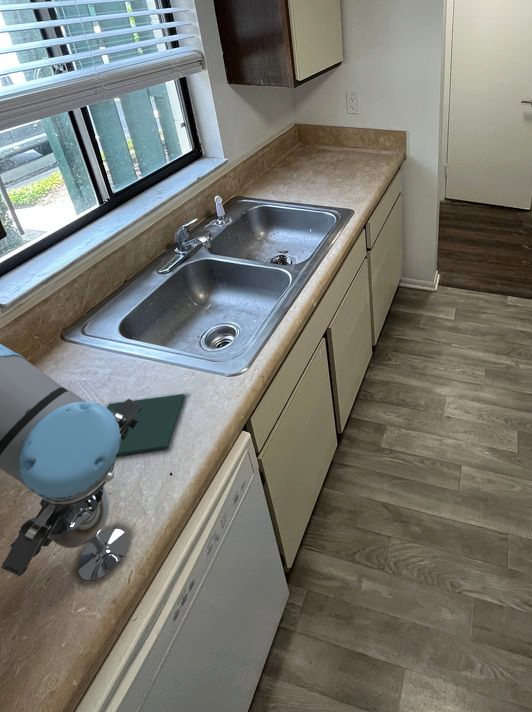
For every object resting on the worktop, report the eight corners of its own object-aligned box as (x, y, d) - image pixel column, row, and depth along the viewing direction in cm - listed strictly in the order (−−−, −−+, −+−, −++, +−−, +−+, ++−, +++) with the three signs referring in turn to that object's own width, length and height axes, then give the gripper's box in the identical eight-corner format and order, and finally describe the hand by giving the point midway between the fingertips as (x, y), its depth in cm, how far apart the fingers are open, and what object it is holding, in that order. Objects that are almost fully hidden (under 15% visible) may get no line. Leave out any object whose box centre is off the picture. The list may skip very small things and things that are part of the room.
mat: (83, 461, 87) (81, 458, 87) (110, 406, 98) (108, 403, 98) (167, 448, 90) (166, 445, 89) (185, 396, 100) (184, 393, 100)
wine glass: (69, 593, 69) (33, 544, 63) (81, 537, 76) (50, 488, 69) (126, 570, 72) (97, 520, 65) (133, 518, 78) (108, 468, 72)
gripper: (4, 625, 42) (28, 605, 56) (178, 376, 60) (163, 409, 74) (-71, 593, 41) (-27, 580, 55) (128, 350, 59) (123, 388, 73)
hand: (82, 482), depth 65 cm, fingers open, 13 cm apart
